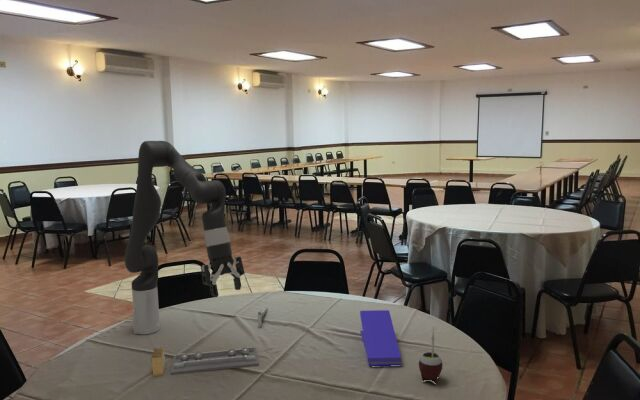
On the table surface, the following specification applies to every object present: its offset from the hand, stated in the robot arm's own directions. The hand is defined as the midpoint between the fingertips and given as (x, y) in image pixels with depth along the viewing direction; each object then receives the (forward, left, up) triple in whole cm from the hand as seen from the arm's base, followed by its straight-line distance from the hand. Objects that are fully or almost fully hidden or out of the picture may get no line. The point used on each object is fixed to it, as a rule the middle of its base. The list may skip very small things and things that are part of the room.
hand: (227, 293), depth 163 cm
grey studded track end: (+2, +7, -25) cm, 26 cm away
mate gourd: (+60, -20, -26) cm, 69 cm away
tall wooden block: (-23, +5, -26) cm, 35 cm away
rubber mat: (-5, +7, -26) cm, 27 cm away
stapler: (+51, +4, -26) cm, 58 cm away
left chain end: (-11, +7, -25) cm, 28 cm away
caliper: (+14, +42, -26) cm, 51 cm away
